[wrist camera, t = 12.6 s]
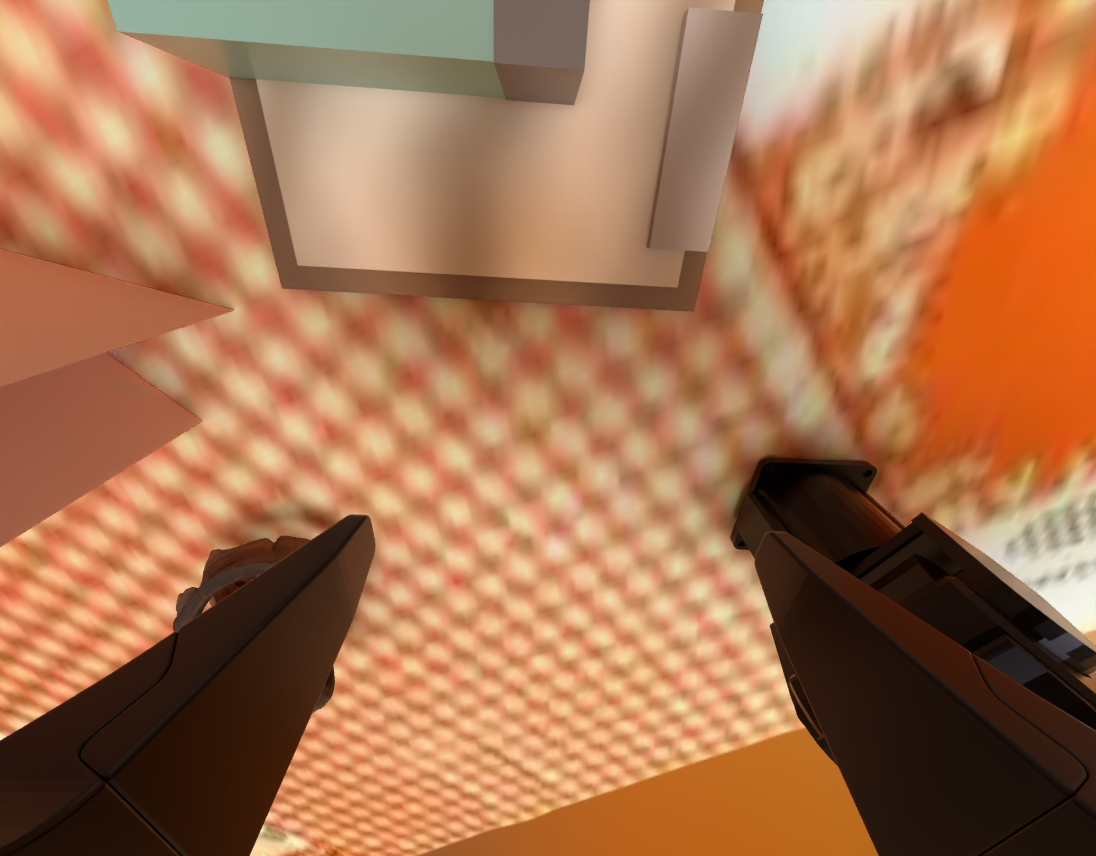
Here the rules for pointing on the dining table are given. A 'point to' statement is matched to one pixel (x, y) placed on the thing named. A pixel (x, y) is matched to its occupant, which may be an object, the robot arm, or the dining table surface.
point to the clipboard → (515, 171)
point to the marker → (377, 42)
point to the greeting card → (77, 383)
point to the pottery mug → (235, 567)
